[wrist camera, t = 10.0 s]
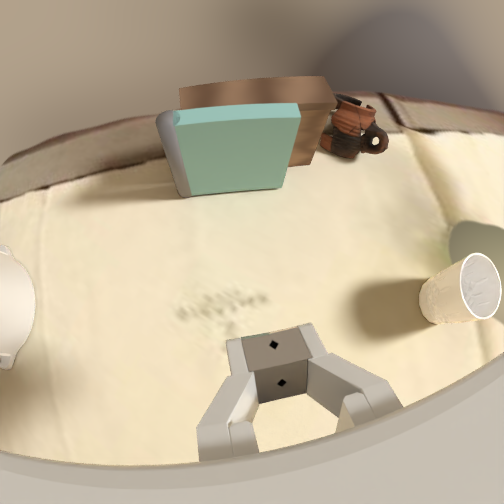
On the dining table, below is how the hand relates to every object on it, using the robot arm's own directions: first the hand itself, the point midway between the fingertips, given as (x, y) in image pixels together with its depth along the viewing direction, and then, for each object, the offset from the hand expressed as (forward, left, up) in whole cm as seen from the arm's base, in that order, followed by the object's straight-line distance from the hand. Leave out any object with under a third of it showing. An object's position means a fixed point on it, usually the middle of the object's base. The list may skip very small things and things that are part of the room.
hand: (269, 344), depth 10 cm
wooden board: (+6, +24, -25) cm, 35 cm away
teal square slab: (+2, +20, -25) cm, 32 cm away
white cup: (+27, -1, -25) cm, 37 cm away
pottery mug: (+21, +27, -26) cm, 43 cm away
